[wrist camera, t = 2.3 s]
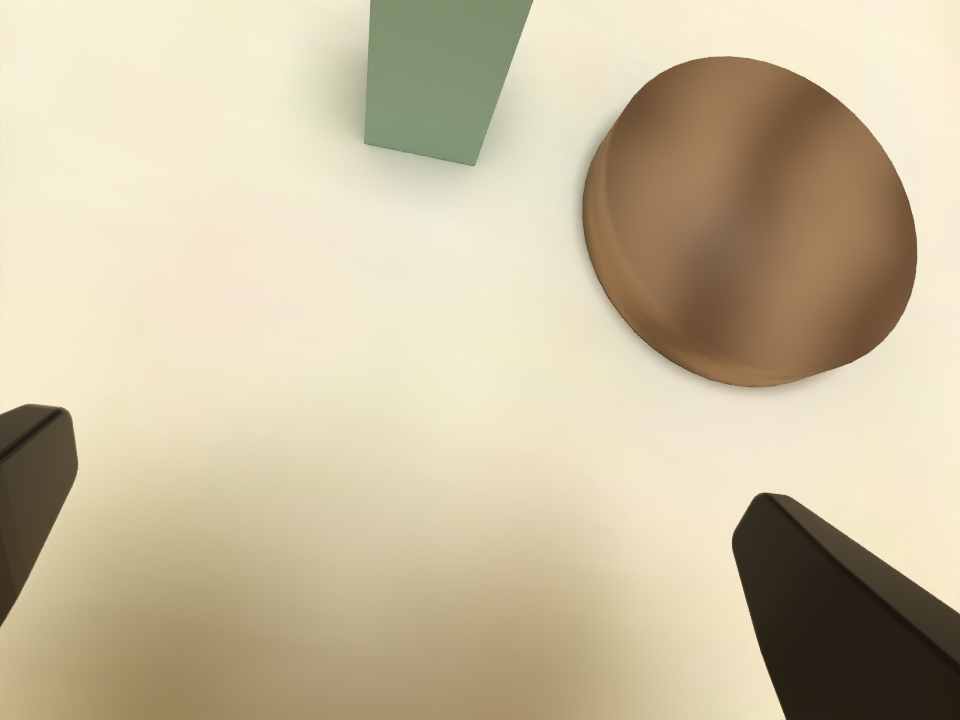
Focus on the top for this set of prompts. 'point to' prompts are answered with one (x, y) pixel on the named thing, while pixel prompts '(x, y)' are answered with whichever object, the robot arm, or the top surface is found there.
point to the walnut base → (749, 224)
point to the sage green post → (438, 72)
